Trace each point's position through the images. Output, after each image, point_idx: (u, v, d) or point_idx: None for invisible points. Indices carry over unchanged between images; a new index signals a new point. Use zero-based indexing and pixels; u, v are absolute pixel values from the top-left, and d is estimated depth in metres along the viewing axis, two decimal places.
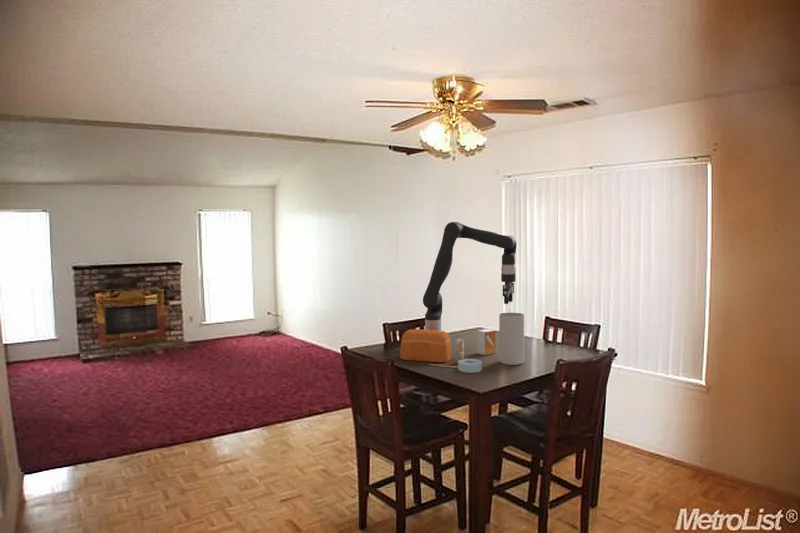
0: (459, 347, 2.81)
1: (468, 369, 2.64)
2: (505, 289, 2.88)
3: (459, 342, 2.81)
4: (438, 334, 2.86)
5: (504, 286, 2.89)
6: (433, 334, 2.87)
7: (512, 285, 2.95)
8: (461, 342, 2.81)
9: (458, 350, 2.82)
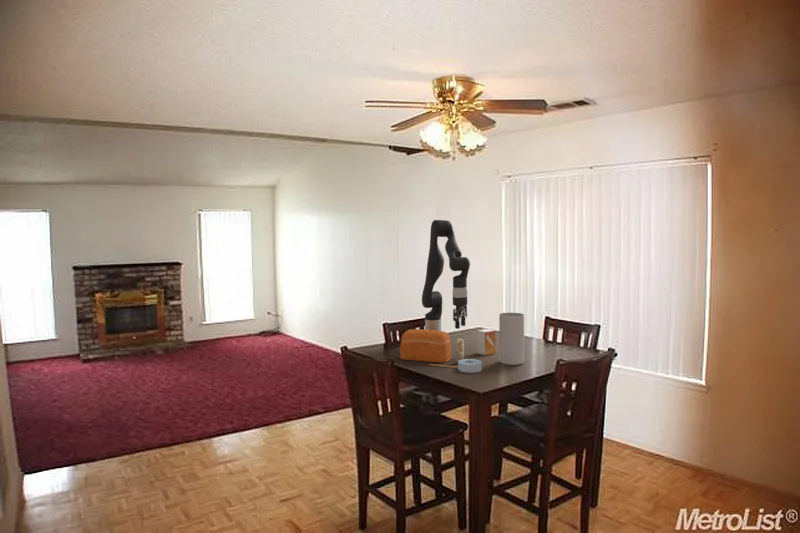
0: (459, 347, 2.81)
1: (468, 369, 2.64)
2: (456, 313, 2.75)
3: (459, 342, 2.81)
4: (437, 334, 2.86)
5: (454, 310, 2.76)
6: (432, 334, 2.86)
7: (464, 309, 2.82)
8: (461, 342, 2.81)
9: (458, 350, 2.82)
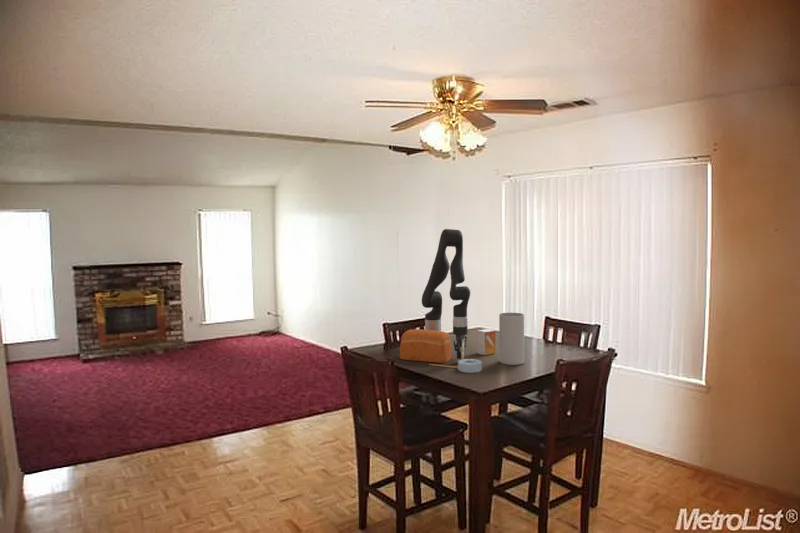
0: None
1: (468, 369, 2.64)
2: (456, 345, 2.77)
3: None
4: (437, 334, 2.85)
5: (455, 343, 2.77)
6: (432, 334, 2.86)
7: (464, 337, 2.83)
8: None
9: None
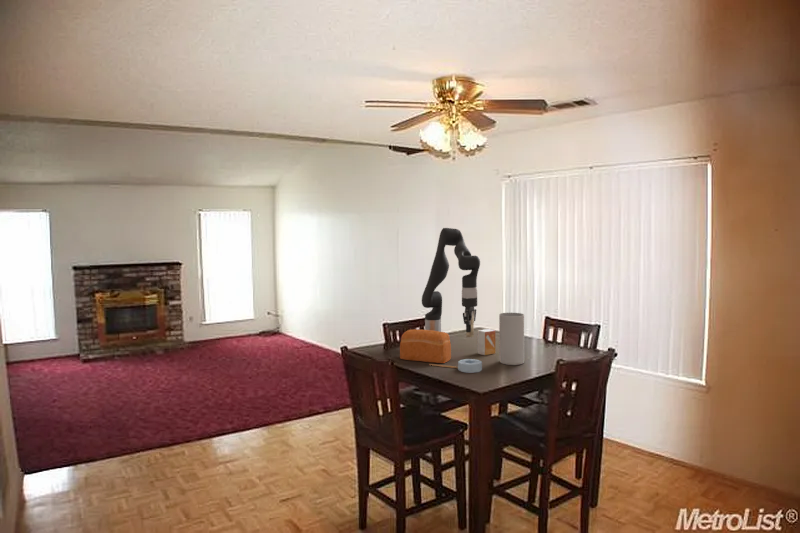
0: None
1: (468, 369, 2.64)
2: (466, 317, 2.62)
3: None
4: (436, 335, 2.85)
5: (464, 315, 2.62)
6: (431, 334, 2.86)
7: (474, 310, 2.68)
8: None
9: None
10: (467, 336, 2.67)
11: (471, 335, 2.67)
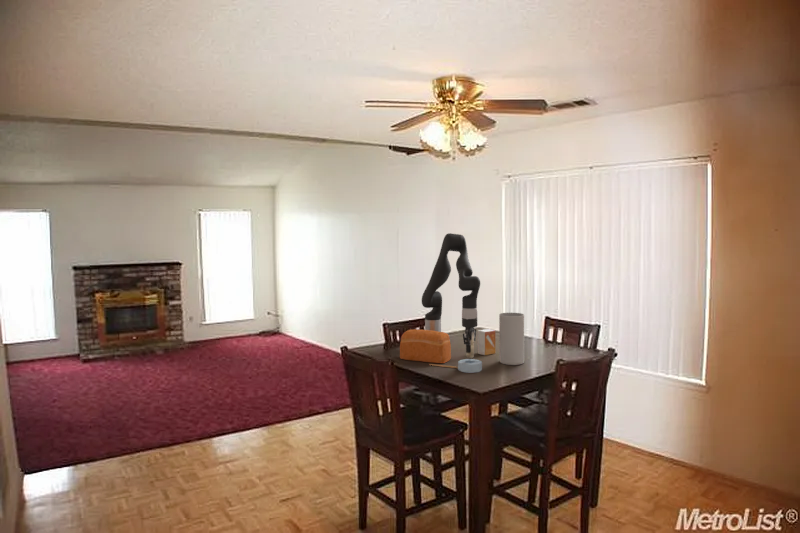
0: None
1: (468, 369, 2.64)
2: (466, 338, 2.63)
3: None
4: (436, 335, 2.85)
5: (464, 335, 2.63)
6: (431, 334, 2.85)
7: (474, 330, 2.69)
8: None
9: None
10: (467, 356, 2.68)
11: (471, 355, 2.68)
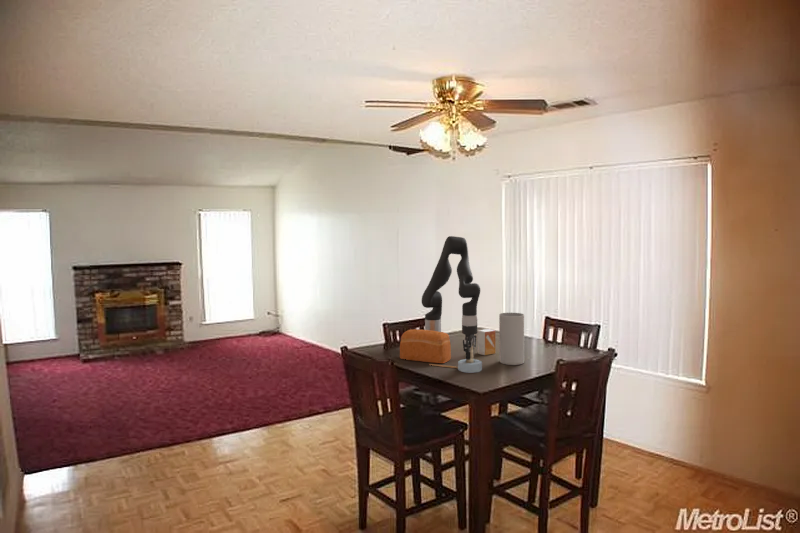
0: None
1: (468, 369, 2.64)
2: (466, 345, 2.63)
3: None
4: (435, 335, 2.84)
5: (464, 342, 2.63)
6: (431, 335, 2.85)
7: (474, 337, 2.69)
8: None
9: None
10: None
11: None
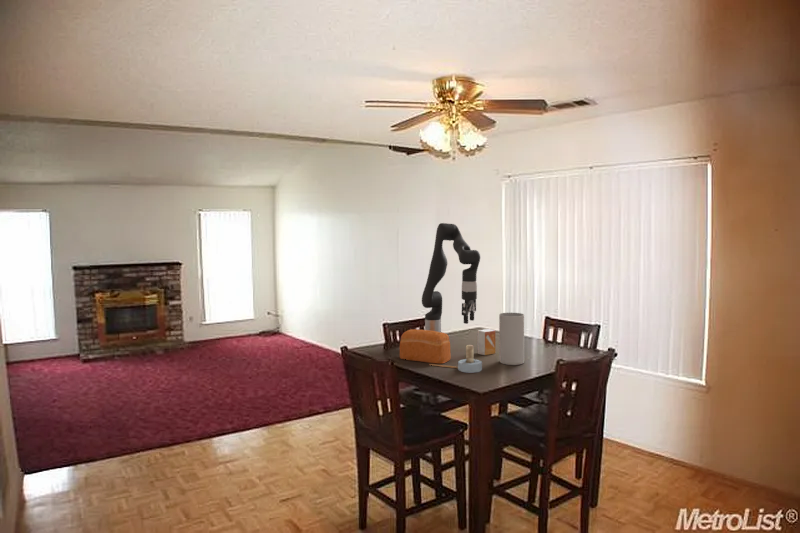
0: (468, 353, 2.67)
1: (468, 369, 2.64)
2: (464, 308, 2.68)
3: (468, 348, 2.67)
4: (435, 335, 2.84)
5: (463, 305, 2.68)
6: (430, 335, 2.85)
7: (473, 303, 2.74)
8: (471, 348, 2.67)
9: (467, 356, 2.68)
10: None
11: None
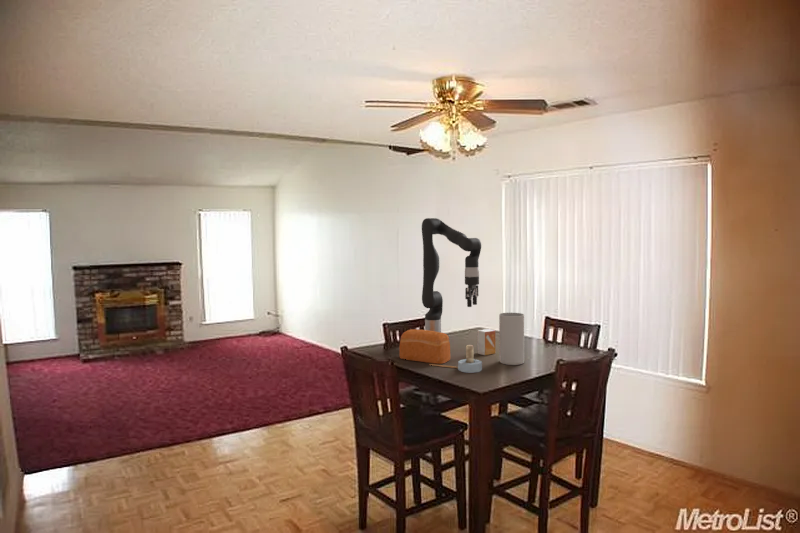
0: (468, 353, 2.67)
1: (468, 369, 2.64)
2: (468, 292, 2.85)
3: (468, 348, 2.67)
4: (434, 335, 2.84)
5: (467, 289, 2.86)
6: (429, 335, 2.85)
7: (476, 288, 2.92)
8: (471, 348, 2.67)
9: (467, 356, 2.68)
10: None
11: None
